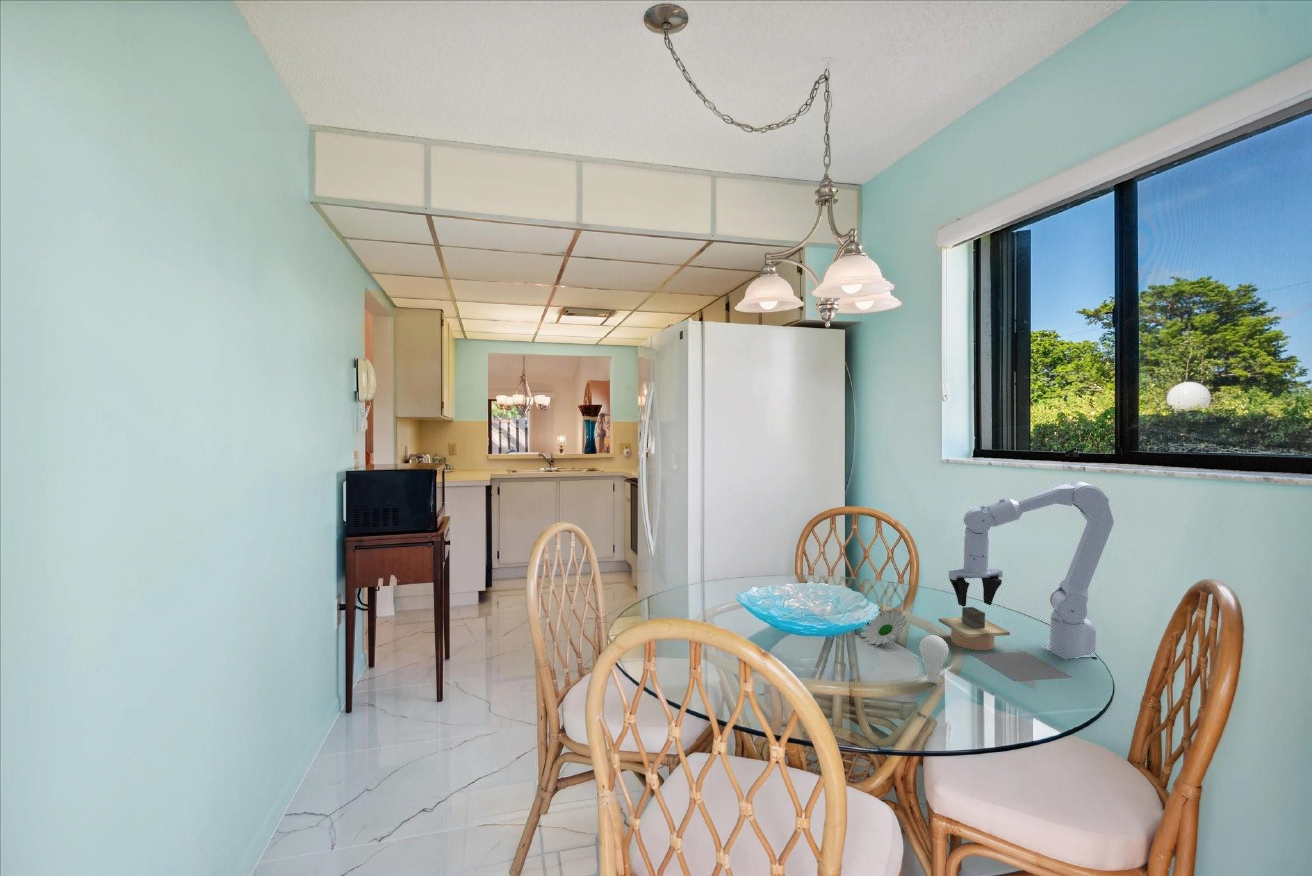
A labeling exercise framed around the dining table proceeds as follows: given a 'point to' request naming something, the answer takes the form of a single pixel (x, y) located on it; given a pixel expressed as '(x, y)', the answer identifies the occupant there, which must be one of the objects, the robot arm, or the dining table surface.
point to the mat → (1021, 666)
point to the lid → (973, 624)
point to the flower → (884, 628)
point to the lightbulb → (933, 656)
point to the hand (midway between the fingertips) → (974, 604)
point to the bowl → (972, 641)
